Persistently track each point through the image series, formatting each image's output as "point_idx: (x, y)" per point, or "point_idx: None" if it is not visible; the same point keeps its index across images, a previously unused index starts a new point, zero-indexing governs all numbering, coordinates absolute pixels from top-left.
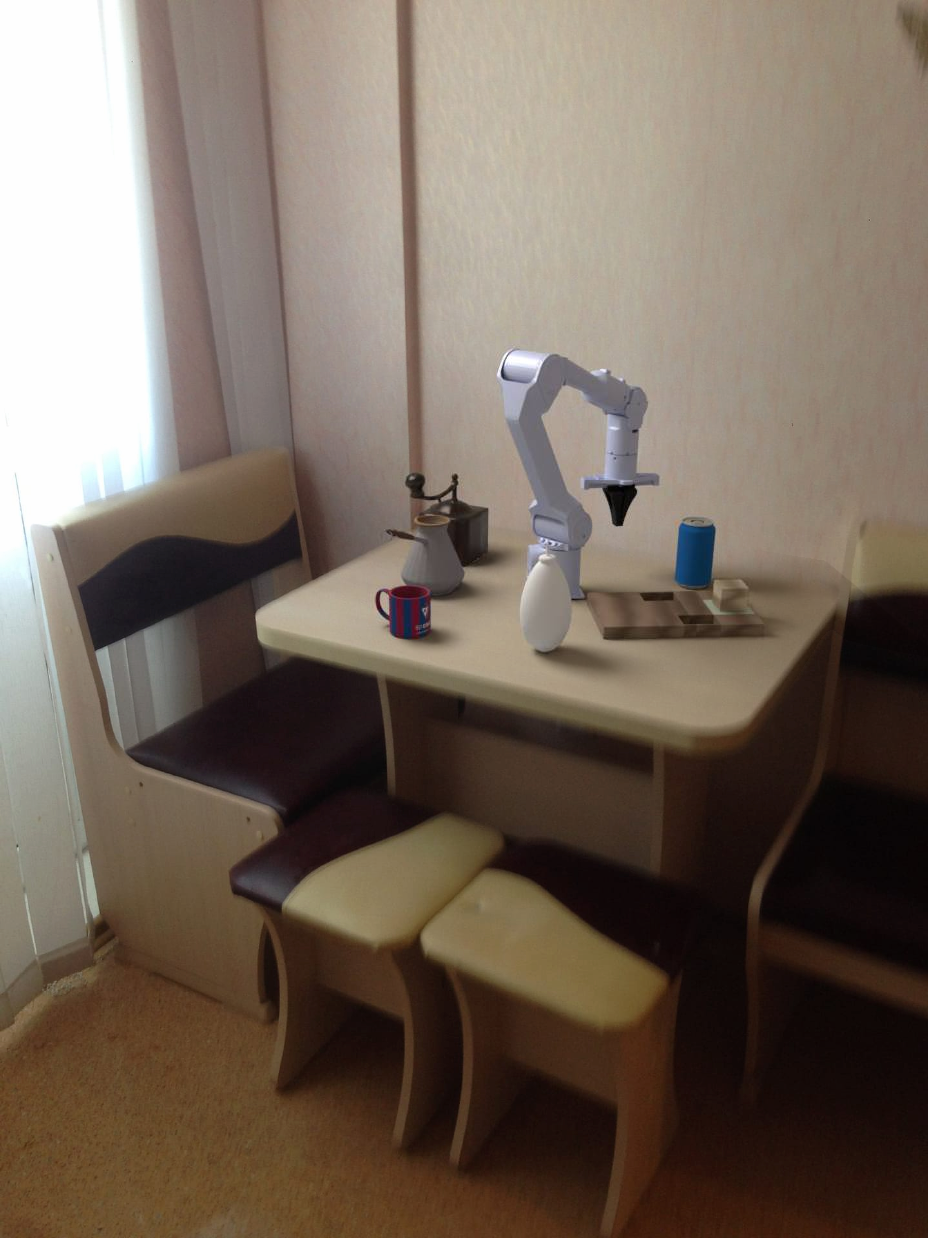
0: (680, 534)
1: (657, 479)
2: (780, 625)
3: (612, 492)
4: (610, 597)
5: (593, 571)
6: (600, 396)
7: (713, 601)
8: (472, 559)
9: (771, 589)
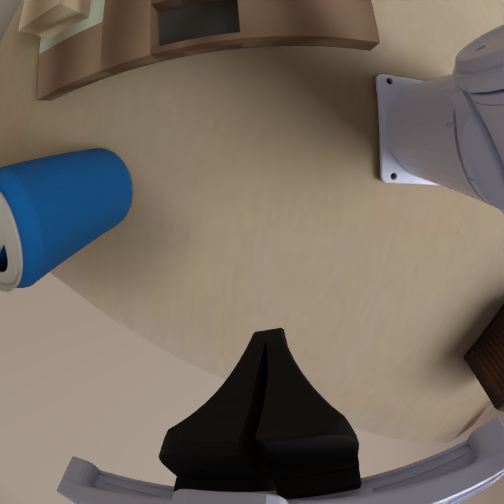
0: (48, 203)
1: (67, 479)
2: None
3: (343, 441)
4: (322, 6)
5: (321, 275)
6: None
7: (87, 9)
8: (500, 315)
9: None
